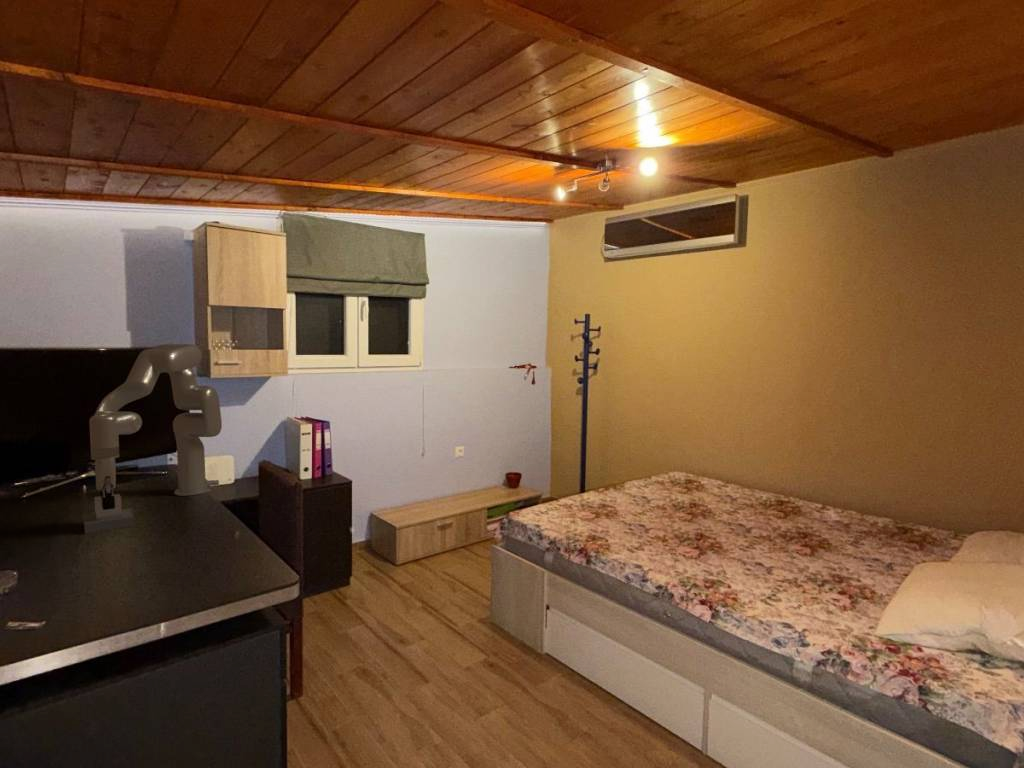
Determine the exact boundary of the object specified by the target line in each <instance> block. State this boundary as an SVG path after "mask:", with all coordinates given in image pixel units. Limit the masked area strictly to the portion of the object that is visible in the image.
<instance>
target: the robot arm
mask: <svg viewBox="0 0 1024 768" xmlns="http://www.w3.org/2000/svg"><path fill="white" fill-rule="evenodd" d="M202 357H203V355H202V351H201V349H200V348H199V347H198V346H197V345H195V344H191V343H190V344H189V343H186V344H185V343H182V344H179V343H178V344H177V343H176V344H174V343H170V344H169V343H168V344H167V343H166V344H159V345H156V346H154V347H153V348H147V349H144V350H142V351H141V352H140V353H139V354H138V355H137V358H136V360H135V362H134V364H133V366H132V368H131V370H130V372H129V374H128V376H127V378H126V380H125V381H124V382H123V383H122V384H121V385H119V386H118V387H117V388H115V389H114V390H112V391H111V392H109V394H107V395H106V396H105V397H104V398H103V399H102V400H101V401H100V403H99V404H98V407H97V408H96V410H95V412H94V415H92V416H91V417H90V418H89V440H90V443H89V444H90V458H91V460H93V461H95V462H94V465H95V466H94V470H95V471H94V472H95V473H94V474H95V488H96V490H97V492H98V491H99V492H100V496H103V497H102V503H103V510H108V509H114V508H115V497H114V495H115V494H114V489H115V488H116V481H117V477H116V476H117V473H116V472H117V471H116V459H117V458H120V443H119V442H120V441H119V439H120V438H119V436H120V435H133V434H135V433H137V432H139V431H140V429H141V427H142V425H143V420H142V417H141V415H140V414H138V413H136V412H133V411H120V409H122V408H123V407H124V406H126V405H127V404H129V403H132V402H134V401H137V400H140V399H141V398H144V397H146V396H148V395H150V394H151V393H152V392H153V390H154V387H155V385H156V383H157V381H158V379H159V376H160V374H161V373H167V374H168V375H169V378H170V382H171V389H172V390H171V391H172V397H173V398H172V399H173V403H174V406H175V408H177V409H179V410H181V411H183V410H184V411H201V412H183V413H180V414H177V415H176V416H175V418H174V419H173V422H172V429H173V433H174V437H175V442H176V455H177V456H176V457H177V459H176V460H177V477H178V479H177V481H178V488H177V489H175V490H174V492H173V494H174V495H175V496H179V497H180V496H181V497H182V496H183V497H185V496H187V497H188V496H196V495H198V496H199V495H202V494H207V493H209V492H210V491H211V486H218V485H220V481H219V479H216V480H214V479H213V480H212V479H211V480H208V479H207V478H206V462H205V461H206V459H205V457H206V456H205V455H206V454H205V445H204V443H203V441H202V440H201V438H214V437H217V436H218V435H220V433H221V430H222V426H223V423H222V421H223V420H222V413H221V403H220V398H219V394H218V391H216V389H215V387H212V386H211V385H199V384H197V379H196V373H195V370H194V368H195V367H196V366H198V365H199V364H200V363H201V361H202ZM100 490H101V491H100Z"/></svg>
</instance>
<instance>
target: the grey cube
mask: <svg viewBox="0 0 1024 768" xmlns="http://www.w3.org/2000/svg"><path fill="white" fill-rule="evenodd" d="M102 497H103V496H101V495H100V496H95V497H94V513H95V516H96V520H101V519H108V518H114V517H121V516H122V509H123V508H122V497H121V495H120V493H116V494H114V497H115V508H114V509H108V510H103V503H102Z"/></svg>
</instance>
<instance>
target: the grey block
mask: <svg viewBox="0 0 1024 768" xmlns="http://www.w3.org/2000/svg"><path fill="white" fill-rule="evenodd" d="M82 516H83V517H82V519H83V528H84V534H92V533H99V532H106V531H112V530H118V529H123V528H130V527H135V516H134V514H133V511H132V509H131V508H124V509H123V508H122V516H121V517H114V518H108V519H101V520H96V516H95V512H94V513H90V514H89V513H88V514H83V515H82Z"/></svg>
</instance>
